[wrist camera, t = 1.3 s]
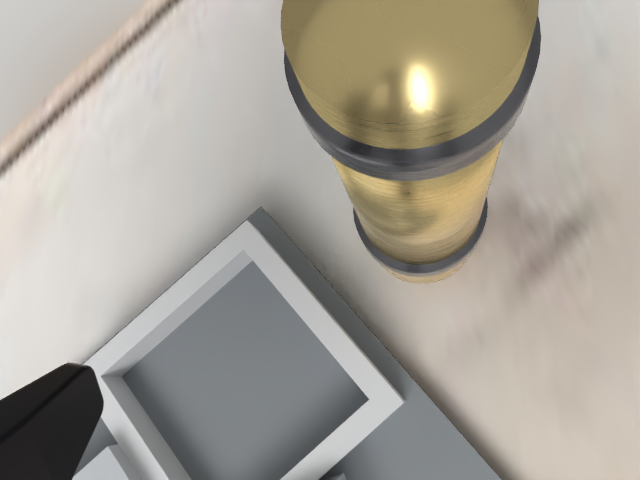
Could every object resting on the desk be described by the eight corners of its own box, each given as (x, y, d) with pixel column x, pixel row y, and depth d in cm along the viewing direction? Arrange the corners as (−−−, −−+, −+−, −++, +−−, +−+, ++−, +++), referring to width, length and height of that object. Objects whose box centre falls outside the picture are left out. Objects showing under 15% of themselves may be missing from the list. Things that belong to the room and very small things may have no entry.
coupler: (503, 235, 22) (619, -6, 8) (417, 312, 22) (394, 193, 8) (423, 158, 23) (411, -155, 10) (342, 230, 23) (217, 15, 10)
